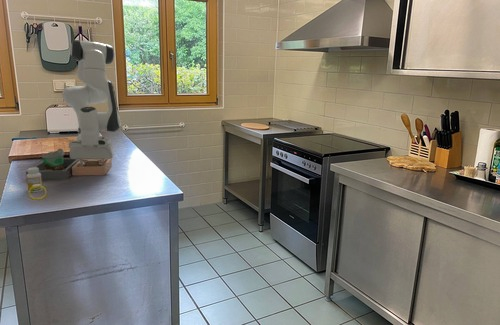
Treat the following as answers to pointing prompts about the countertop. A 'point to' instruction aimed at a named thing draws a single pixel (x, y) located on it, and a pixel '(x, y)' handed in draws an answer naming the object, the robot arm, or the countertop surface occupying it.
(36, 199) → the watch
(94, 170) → the terracotta bin
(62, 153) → the food container
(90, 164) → the walnut block
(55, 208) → the countertop surface
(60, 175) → the charcoal bin
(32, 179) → the supplement bottle
